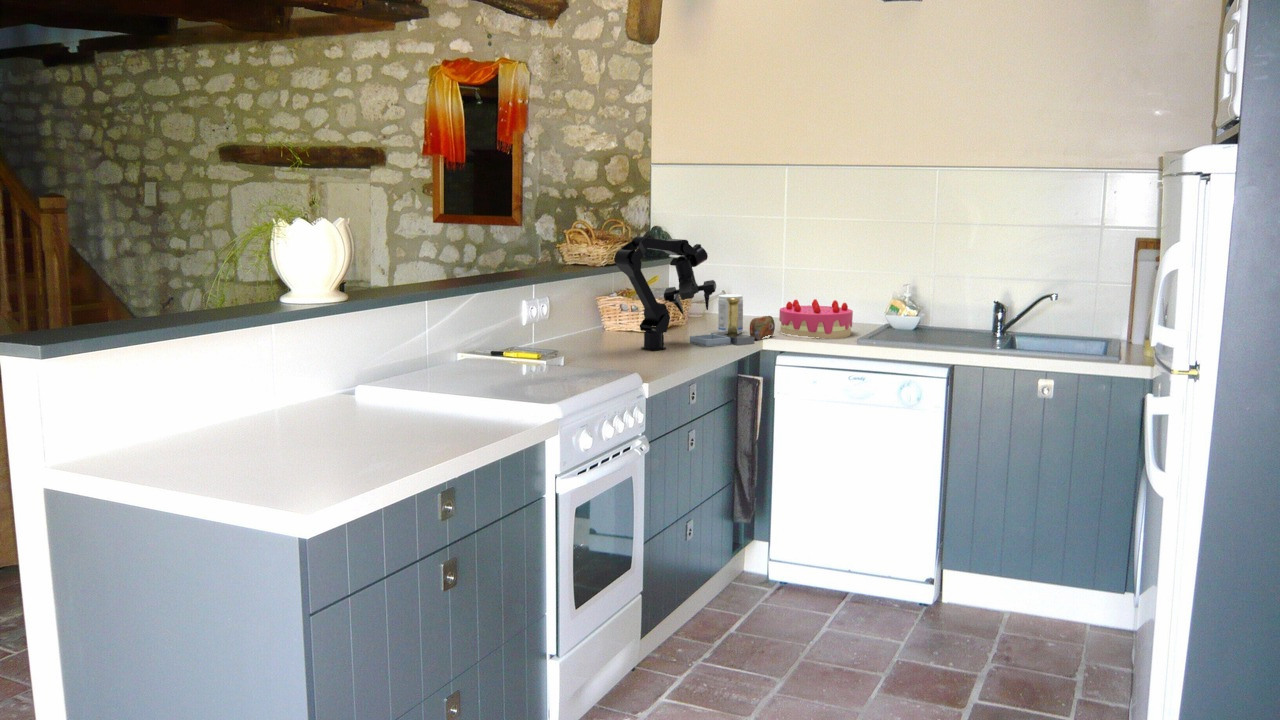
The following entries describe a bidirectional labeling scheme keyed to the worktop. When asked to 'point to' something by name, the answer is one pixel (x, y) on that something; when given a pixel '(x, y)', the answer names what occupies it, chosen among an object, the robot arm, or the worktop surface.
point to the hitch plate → (738, 338)
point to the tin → (762, 327)
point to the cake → (816, 320)
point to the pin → (732, 316)
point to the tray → (710, 340)
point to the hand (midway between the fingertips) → (695, 311)
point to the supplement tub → (724, 312)
